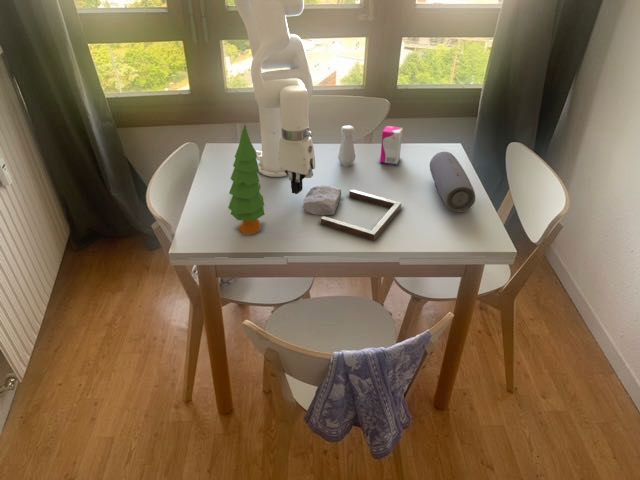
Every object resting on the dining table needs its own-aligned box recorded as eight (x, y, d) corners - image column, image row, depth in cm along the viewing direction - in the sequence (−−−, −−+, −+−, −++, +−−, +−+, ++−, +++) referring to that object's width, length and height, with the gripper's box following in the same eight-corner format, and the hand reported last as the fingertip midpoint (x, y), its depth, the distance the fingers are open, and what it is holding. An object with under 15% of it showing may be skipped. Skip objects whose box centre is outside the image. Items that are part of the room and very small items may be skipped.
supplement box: (400, 158, 170) (403, 127, 164) (396, 166, 166) (399, 133, 159) (383, 156, 172) (386, 124, 165) (379, 163, 167) (382, 131, 161)
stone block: (302, 218, 141) (336, 216, 139) (299, 203, 139) (333, 201, 136) (311, 199, 151) (343, 197, 148) (308, 185, 149) (341, 182, 146)
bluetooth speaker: (474, 216, 140) (480, 184, 134) (441, 216, 140) (446, 185, 134) (454, 178, 158) (459, 149, 153) (425, 178, 158) (429, 149, 153)
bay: (320, 224, 136) (320, 218, 135) (351, 194, 149) (351, 189, 148) (373, 241, 129) (374, 234, 128) (400, 208, 143) (401, 202, 142)
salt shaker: (344, 158, 170) (345, 122, 163) (358, 162, 168) (360, 126, 160) (334, 164, 166) (335, 127, 159) (348, 168, 164) (350, 131, 156)
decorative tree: (267, 236, 131) (259, 128, 114) (231, 240, 129) (218, 131, 112) (264, 217, 138) (256, 114, 121) (230, 220, 137) (217, 116, 120)
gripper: (325, 133, 136) (325, 192, 146) (280, 123, 142) (282, 181, 152) (311, 142, 130) (312, 203, 141) (264, 132, 137) (268, 191, 147)
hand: (296, 191), depth 146 cm, fingers closed
